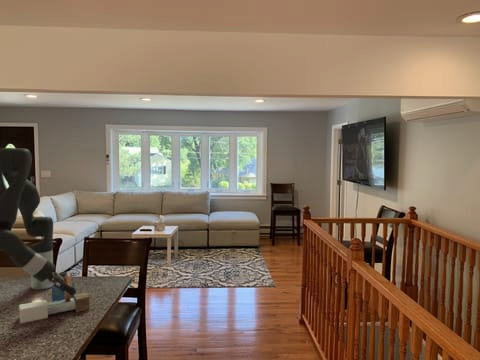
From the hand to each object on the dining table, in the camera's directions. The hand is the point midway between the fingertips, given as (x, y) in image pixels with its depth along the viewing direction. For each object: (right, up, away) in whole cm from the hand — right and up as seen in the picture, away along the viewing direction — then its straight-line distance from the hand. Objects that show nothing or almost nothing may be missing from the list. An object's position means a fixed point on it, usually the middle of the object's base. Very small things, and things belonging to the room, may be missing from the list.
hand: (73, 292), depth 145 cm
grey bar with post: (-4, -6, -2) cm, 8 cm away
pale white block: (-12, -8, -7) cm, 16 cm away
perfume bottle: (-9, -7, +10) cm, 15 cm away
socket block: (+2, -7, +2) cm, 8 cm away
